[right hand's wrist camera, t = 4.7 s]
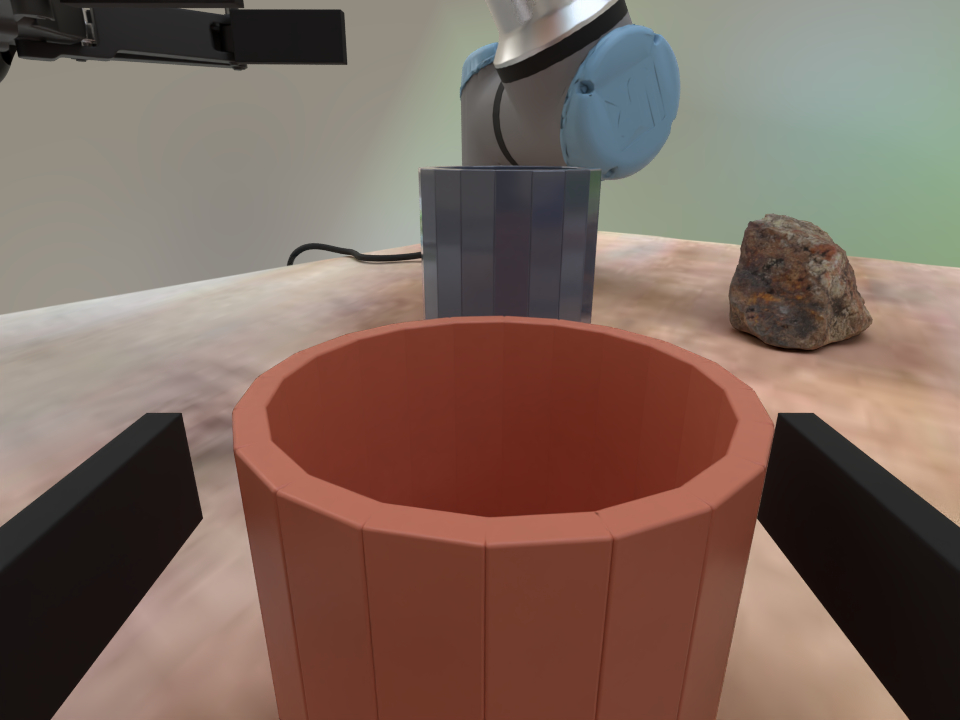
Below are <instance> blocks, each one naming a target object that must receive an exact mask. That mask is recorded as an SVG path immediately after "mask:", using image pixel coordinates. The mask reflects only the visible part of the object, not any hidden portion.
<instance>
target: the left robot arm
mask: <svg viewBox="0 0 960 720" xmlns="http://www.w3.org/2000/svg"><path fill="white" fill-rule="evenodd" d="M485 2H486V4H487V6H488V8H489V10H490V13H491V15H492V17H493V19H494V22H495V24H496V26H497V28H498V31H499V43H492V44H488V45H486V46H483V47H481V48H479V49H477V50H475V51H474V52H472V53H471V54H470V55H469V56H468V57H467V59H466V60H465V62H464V65H463V69H462V83H461V87H460V98H461V122H462V166H579V167H599V168H601V169H602V173H601V181H603V180H616V179H622V178H626V177H628V176H631V175H633V174H635V173H637V172H638V171H640V170H641V169H643V168H644V167H645V166H646V165H648V164H649V163H650V162H651V161H652V160H653V159H654V157H655V156H656V155H657V154H658V153H659V151H660V150H661V148H662V147H663V145H664V144H665V142H666V140H667V138H668V136H669V134H670V130H671V124H672V122H673V120H674V119H675V118H676V115H677V111H678V106H679V99H680V75H679V68H678V64H677V60H676V57H675V55H674V52H673V50H672V48H671V47H670V45H669V43H668V42H667V41H666V40H665V39H664V37H663V36H662V35H660V34H655V33H654V32H653V30H652V29H651V28H647V27H645V26H639V25H635V24H632V21H631V18H630V15H629V12H628V9H627V6H626V3H625V0H485ZM83 8H90V10H86V9H83ZM180 8H225V14H224V15H221V14H214V13H207V12H200V11H193V10H186V9H180ZM238 8H244V3H243V0H0V82H1V81H2V80H3V79H4V78H5V76H6V75H7V73H8V71H9V68H10V66H11V62H12V59H13V57H14V54H15V52H16V50H17V53H18V57H19V58H23V59H30V60H40V61H55V60H57V59H58V58H61V57H65V58H71V59H76V61H80V62H86V60H98V61H110V60H115V61H130V62H145V63H161V64H176V65H191V66H206V67H221V68H233V69H234V70H239V71H241V70H245V69H246V68H247V64H311V65H313V64H315V65H347V52H346V35H345V19H344V12H343V11H341V10H239V9H238ZM310 249H320V250H326V251H331V252H335V253H340V254H346V255H352V256H354V257H355V258H357V259H359V260H363V261H401V260H411V259H418V258H421V252H417V253H409V254H398V255H364V254H360V253H358V252H357V251H355V250H352V249H345V248H339V247H335V246H330V245H325V244H319V243H311V244H305V245H302V246H300V247H298V248H297V249H295V250H294V251H293V252H292V254H291V255H290V257H289V259H288V262H287V266H291V265H293V262H294V260H295V258H296V257H297V256H298V255H299V254H300V253H302V252H303V251H306V250H310Z"/></svg>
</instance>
